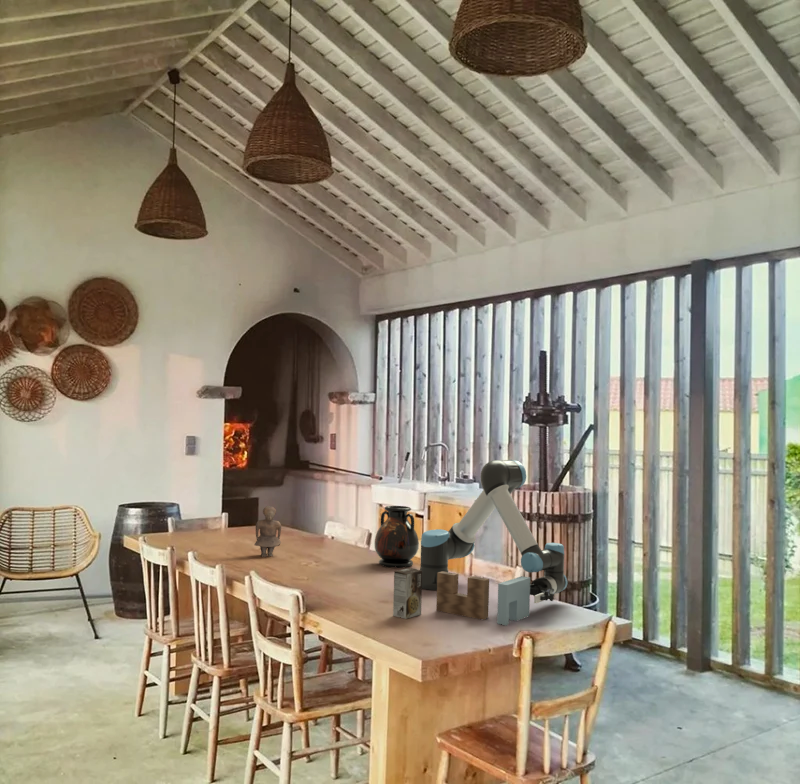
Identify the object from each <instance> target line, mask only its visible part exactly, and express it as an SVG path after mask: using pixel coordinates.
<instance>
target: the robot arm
mask: <svg viewBox="0 0 800 784" xmlns="http://www.w3.org/2000/svg"><path fill="white" fill-rule="evenodd" d="M479 477H480V483H481V487H482V491H481V493H480V494H479V495H478V496H477V498H476V499H475V500H474V502H473V503H472V505H471V506H470V507H469V509H468V510H467V512H465V515H464V516H463V517H462V518H461V520H460V521H459V522H456V523H453V524H452V526H451V527H450V528H449V530H445V529H428V530H426V531H424V532H423V533H422V534H421V541H420V567H419V570H422V590H429V591H437V573H438V572H442V571H443V572H449V560H455V559H462V558H466V557H468V556H470V555H471V554H472V552H473V551H474V549H475V547H476V546H475V542H476V540H477V538H476V534H477V533H478V532H479V530H480V529H481V528H482V526H483V525H484V524H485V523H486V521H487V520H488V519H489V517H490V516H491V515H492V513H493V512H494V511H495V509H496V510H497V513H498V514H499V516H500V518H501V520H502V521H503V524H504V525H505V528H507V531H508V532H509V534H510V536H511V538H512V540H513V541H514V542H513V543H515V546H516V547H517V550H518V551H519V552H520V555H521V558H520V564H521V569H523V570H524V571H525V572H527V573H539V572H542V571H544V575H543V576H541V577H538V578H536V579H533V580H532V582H530V596H533V597H534V599H533V603H534V604H539V603H540V602H544V601H548V600H549V601H550V602H553V601H554V596H555V595H556V594H559V593H561V592H563V591H564V590H566V589H567V586H568V583H569V581H568V578H567V576H566V575H565V571H564V570H565V555H566V554H565V546H564V545H563V544H562V543H559V542H547V543H546V544H545V545H544V549H543V550H541V548H540V545H539V544H538V542H537V540H536V538H535V537H534V535H533V533H532V532H531V529H530V528H529V525H528V523H527V522H526V521H525V518H524V517H523V515H522V513H521V512H520V509H519V508H518V506H517V503H516V502H515V501H514V500H515V499H514V498H513V496H512V495H511V494H512V493H513V492H514V491H515V489H519V488H521V487H523V486H524V484H525V483H526V481H527V472H526V467H525V466H524V465H523V463H521V462H520V461H518V460H516V459H515V460H514V459H504V460H503V459H500V460H497V459H495V460H490V461H488V462H487V463H485V464H484V465H483V467H482V468H481V471H480V476H479Z"/></svg>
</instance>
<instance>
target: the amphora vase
mask: <svg viewBox="0 0 800 784" xmlns="http://www.w3.org/2000/svg"><path fill="white" fill-rule="evenodd" d="M411 510H412V508H411V507H409V506H405V505H387V506H385V507H384V511H383V512H382V513H381V515H380V526H379V528H378V530H377V532H376V534H375V538H374V550H375V552H376V554H377V556H378V557H379V558H380V559H379V561H378V563H379V565H380V566H382V567H385V566H386V567H385V568H391V567H397V568H396V569H400V568H401V569H404V568H403V567H405V568H411V567H412V565H414V562H413V560H412V559H413V558H414V557H415V556H416V555H417V553H418V552H419V547H420V541H419V540H420V539H419V536H418V533H417V531H416V529H415V517H414V516H413V514H411V513H408V512H410V511H411ZM386 516H387V519H386V520H385V517H386ZM408 518H409V519H410V521H409V520H408Z"/></svg>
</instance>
